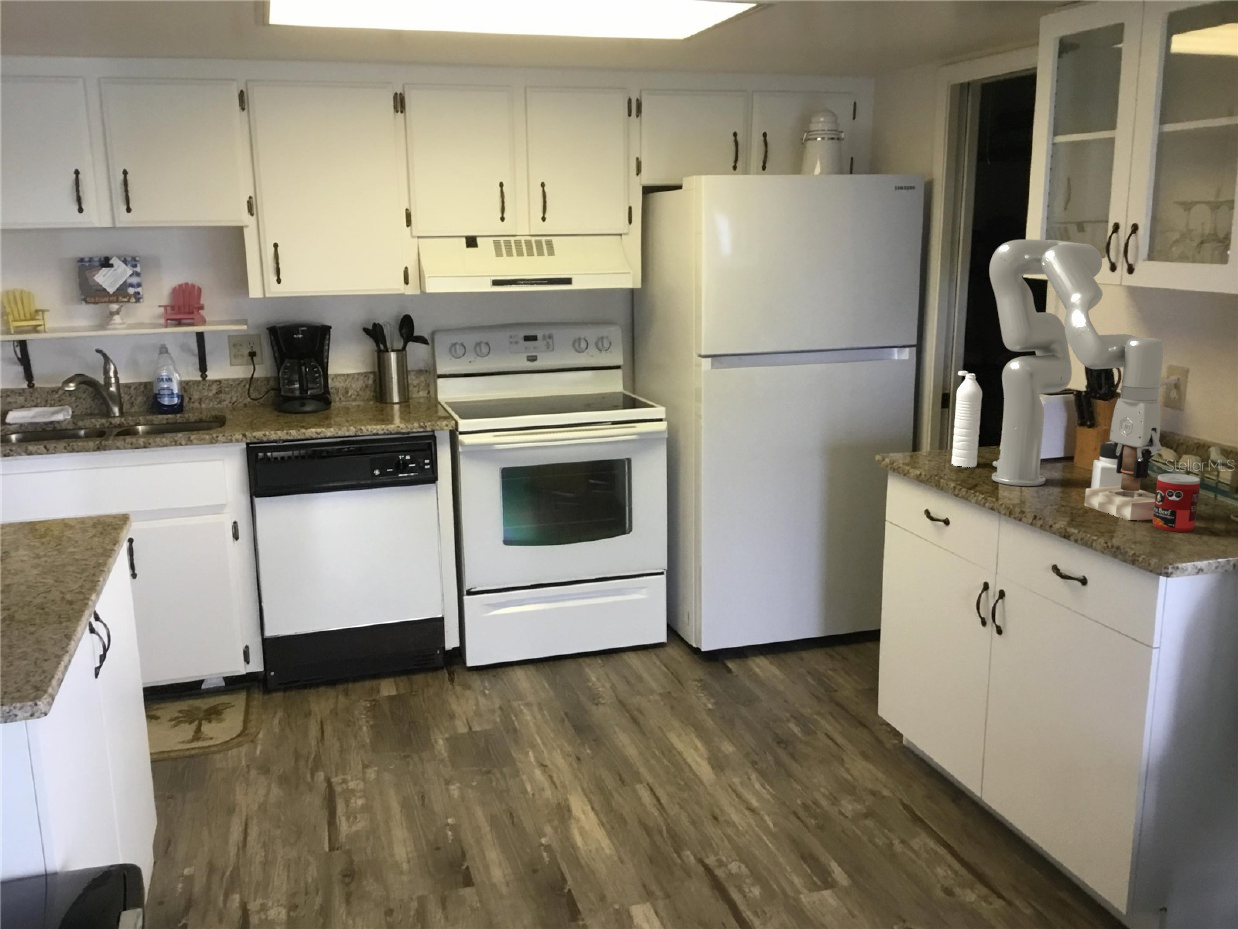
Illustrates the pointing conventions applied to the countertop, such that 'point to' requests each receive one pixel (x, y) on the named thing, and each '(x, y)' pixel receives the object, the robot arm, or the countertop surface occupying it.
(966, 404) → the water bottle
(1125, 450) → the peg
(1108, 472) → the medicine bottle
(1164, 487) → the canned food
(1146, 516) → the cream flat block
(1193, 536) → the countertop surface
